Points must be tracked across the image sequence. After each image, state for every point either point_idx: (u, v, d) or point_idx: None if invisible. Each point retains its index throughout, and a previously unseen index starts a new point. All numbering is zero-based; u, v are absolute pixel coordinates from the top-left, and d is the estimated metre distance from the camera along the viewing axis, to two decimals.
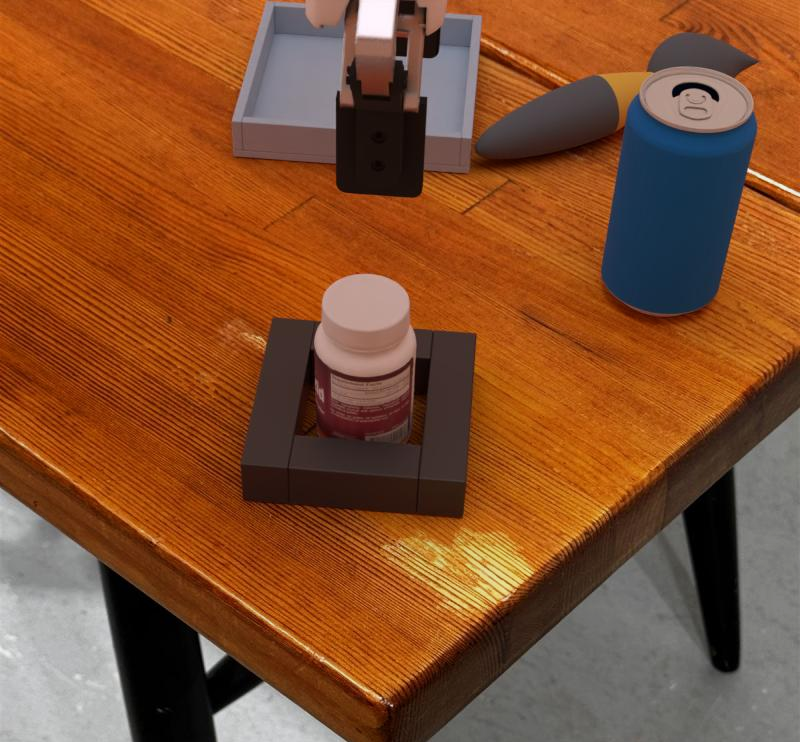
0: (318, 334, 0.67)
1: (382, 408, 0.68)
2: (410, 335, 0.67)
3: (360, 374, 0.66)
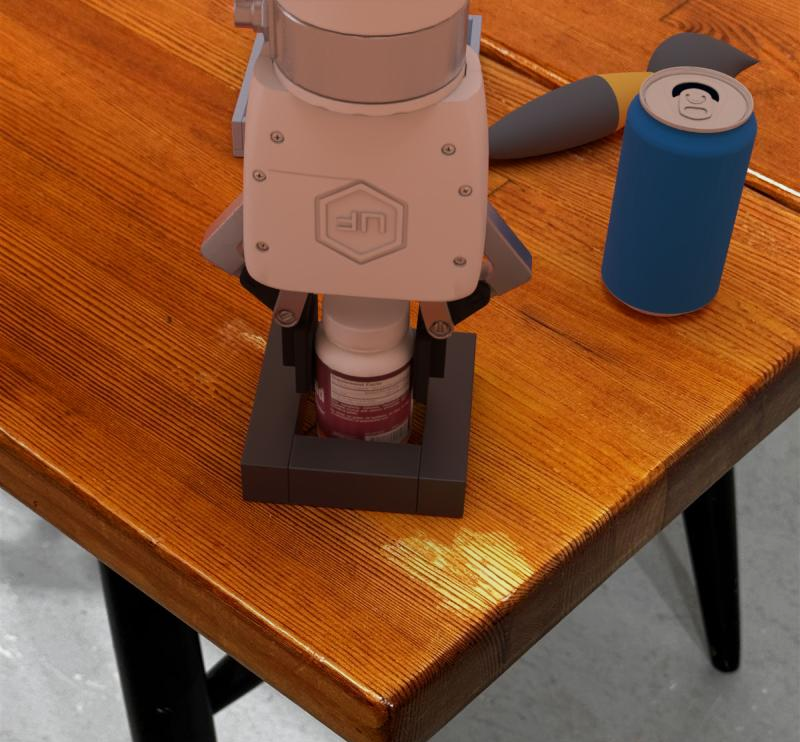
0: (318, 334, 0.67)
1: (382, 408, 0.68)
2: (410, 335, 0.67)
3: (360, 374, 0.66)
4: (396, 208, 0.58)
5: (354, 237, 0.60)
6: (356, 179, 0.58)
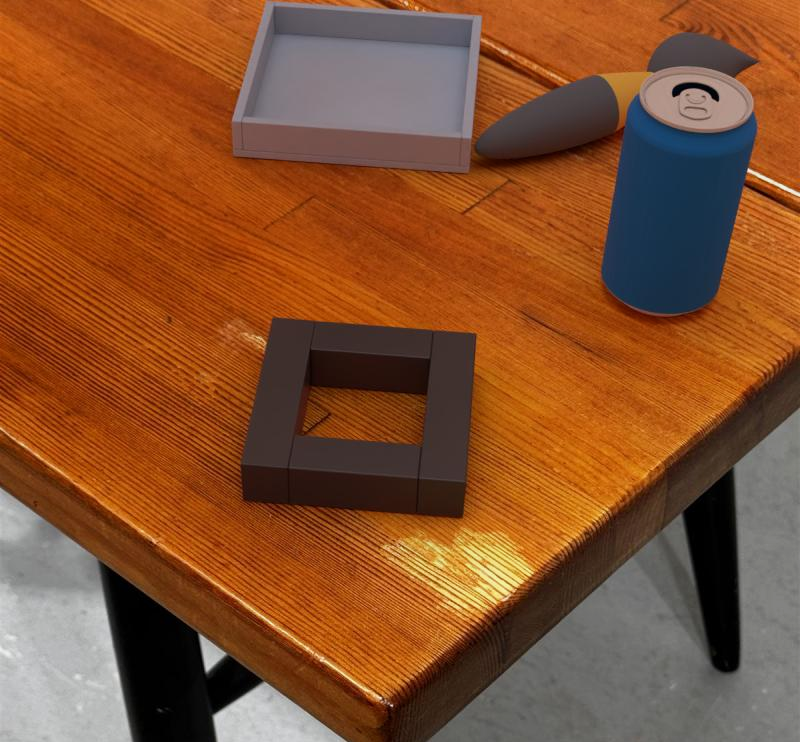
0: None
1: None
2: None
3: None
4: None
5: None
6: None
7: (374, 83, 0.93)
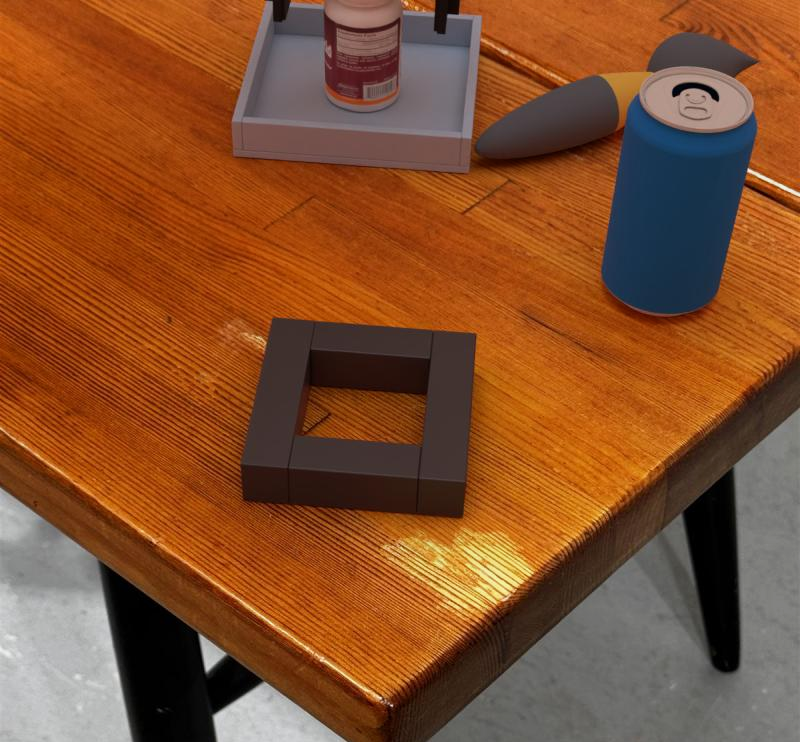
0: (327, 0, 0.87)
1: (376, 59, 0.88)
2: (398, 0, 0.87)
3: (359, 26, 0.86)
4: None
5: None
6: None
7: None
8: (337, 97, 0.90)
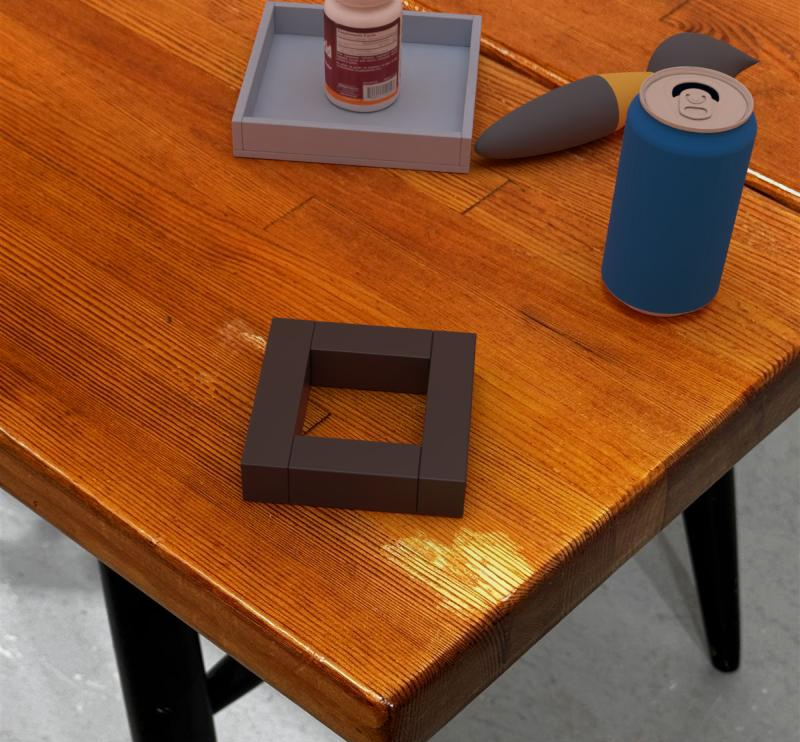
0: (327, 0, 0.87)
1: (376, 59, 0.88)
2: (398, 0, 0.87)
3: (359, 26, 0.86)
4: None
5: None
6: None
7: None
8: (337, 97, 0.90)
